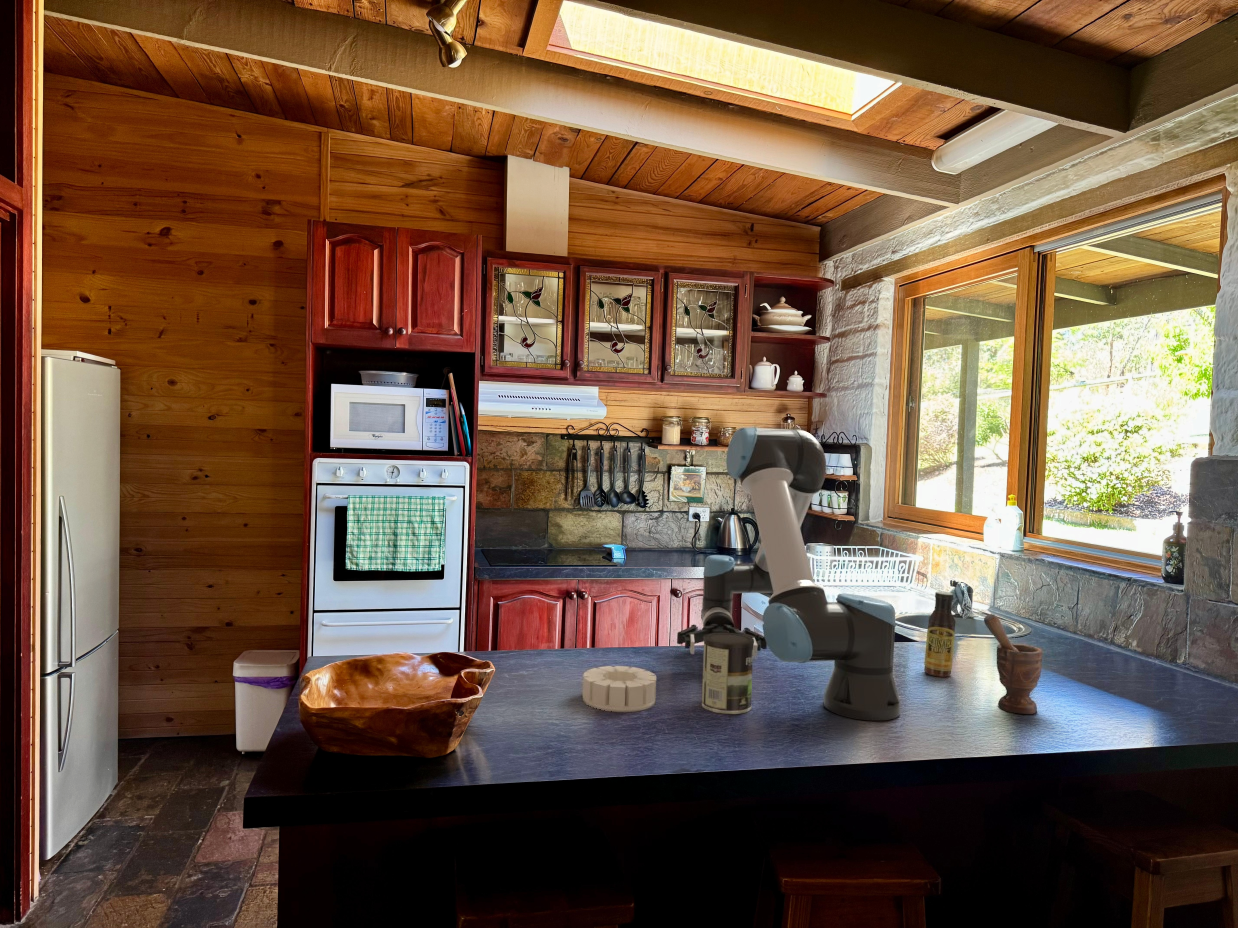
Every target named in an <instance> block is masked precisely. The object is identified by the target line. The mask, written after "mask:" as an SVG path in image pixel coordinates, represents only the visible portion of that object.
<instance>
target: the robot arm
mask: <svg viewBox="0 0 1238 928" xmlns="http://www.w3.org/2000/svg"><path fill="white" fill-rule="evenodd" d="M725 460H726V461H725V463H726V471H727V475H728V476H730V478H733V479H734V480H738V479H739V482H740V485H741V486H740V487H741V489H742V490H743V492H744V493H746V494H747V495H750V498H751V502H752V506H753V511H754V516H755V520H756V523H757V524H756V525H757V529H758V532H759V537H760V540H761V543H760V546H759V548H758V551H757V553H756V556H755V558H754V561H753V562H752V563H737V562H736V563H735V559H734V558H733V557H732V556H729V555H724V554H723V555H722V554H721V555H720V554H714V555H713V554H712V555H711V554H710V555H708V556H706V558H705V560H704V564H703V565H704V567H703V574H702V575H703V585H702V587H703V590H702V591H703V592H702V593H703V595H702V607H701V608H702V609H701V611H700V619H701V620H702V628H699V626H697V625H696V624H691V625H690V626H689V627H687V628H685V629H683V630H680V631H678V632H677V635H676V637H677V639H676V643H677V645H683V644H684V649H689V651H690V655H695V645H696V644H699V643H704V641H703V637H704V636H705V635H707V634H711V633H735V634H741V635H746V636H749V637H751V638H753V639H754V644H753V659H755V658H756V659H757V658H758V652H761V651H762V650H767V648H769V650H770V652H771V653H772V654H773V655H774V657H776V658H777V659H779V660H780V661H782V662H784V663H798V664H806V663H809V662H810V663H811V662H814V663H815V662H828V661H829V662H832V661H833V662H834V664H833V670H832V673H831V676H830V678H829V680H828V683H827V686H826V687H825V691H824V694H823V706H824V707H825V708H826V709H827V710H828V711H830V712H832V713H834V714H837V715H839V716H842V717H845V718H850V719H856V720H862V721H873V722H874V721H876V722H877V721H878V722H879V721H889V720H893V719H896V718H898V717H899V716H900V715H901V700H900V696H899V693H898V690H897V686H896V682H895V678H894V654H895V653H894V652H895V635H896V634H895V633H896V627H897V623H896V610H895V608H894V606H893V605H892V604H891V603H889V602H888V601H885V600H882V599H878V598H874V597H870V596H865V595H860V594H855V593H852V594H851V593H845V592H844V593H843V592H841V593H839V594H837V597H836V598H835V601H836V602H830V601H829V602H828V600H827V595H826V592H825V589H824V587H821V586H820V585H818V584H816V583H815V581H814V576H813V573H812V568H811V566H810V565H811V564H810V562H809V557H808V553H807V550H806V545H805V542H804V539H803V535H802V531H801V527H802V524H803V522H804V520H805V517H806V515H807V512H808V510H809V507H810V504H811V502H812V500H813V497H814V495H816V494H818V493H819V492H820V491H821V489H822V486H823V484H824V481H825V479H826V472H827V460H826V455H825V452H824V449H823V447H822V445H821V443H820V442H819V441H818V440H817V438H816V437H814V435H812V433H809V432H807V431H806V430H803V429H798V428H769V427H767V428H766V427H764V428H763V427H757V426H752V427H740V428H738V429H736V431H735V432H734V433H733V434H732V436H731V438H730V440H729V444H728V447H727V451H726V459H725ZM746 593H747V594H754V593H756V594H757V593H758V594H765V593H766V594H772V595H771V596H770V597H769V599H768V601H767V602H768V603H767V604H768V606H766V608H764V611H763V614H762V621H763V624H762V632H763V635H762V634H760V633H758V632H755V631H754V630H751V629H750V628H749V627H744V628H743V629H742V630H739V628H736V626H735V622H734V620H733V619H734V618H733V616H732V614H733V596H734V594H746ZM761 649H762V650H761Z"/></svg>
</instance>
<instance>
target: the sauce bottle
mask: <svg viewBox="0 0 1238 928" xmlns="http://www.w3.org/2000/svg"><path fill="white" fill-rule="evenodd" d="M934 593H935V594H934V597H935V598H934V599H935V601H934V603H935V604H934V610H933V611H932V613H931V614H930V616H929V617H928V624H927V629H926V631H927V632H926V640H925V642H926V643H925V649H924V650H925V651H924V652H925V653H924V664H923V666H924V668H923V671H924V672H925V673H926V675H930V676H932V677H941V678H948V677H950V676H951V674H952V670H953V669H952V668H953V661H954V660H953V659H954V658H953V657H954V648H955V637H956V633H955V632H956V619H955V618H954V617H955V616H954V615H953V613H952V606H953V604H952V603H953V600H954V593H953V592H952V593H951V592H947V591H936V592H934Z"/></svg>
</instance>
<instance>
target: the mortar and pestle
mask: <svg viewBox="0 0 1238 928" xmlns="http://www.w3.org/2000/svg"><path fill="white" fill-rule="evenodd" d="M983 622H984V624H985V626H986V628H987V629H988V630H989V633H991V634H992V635H993V637H994V638H995V639H996V641H997V642H998V643H999V644H998V645H997V646H996V669H997V673H998V675H999V682H1000V684H1001V685H1002V686H1003V687H1004V688H1005V692H1006V693H1005V694H1004V695H1003V696H1001V697H999V700H998V702H997V705H998V708H1000V709H1001V710H1003V711H1005V712H1009V713H1013V714H1020V715H1033V714H1036V713H1038V707H1037V706H1038V705H1037V703H1036V702H1035V701H1034V700H1033V699H1032V698H1031V696H1030V694H1031V692H1033V690H1034V689H1036V687H1037V686H1038V681H1039V680H1040V678H1041V675H1042V674H1041V673H1042V662H1043V649H1042V648H1039V647H1036V646H1033V645H1030V644H1023V643H1012V642H1011V640H1010V639H1009V636H1007V632H1006V630H1005V628H1004V626H1003V624H1002V622H1001V621H1000V619H999V617H997V615H995V614H992V613H991V614H987V615H986V616H985V617H983Z"/></svg>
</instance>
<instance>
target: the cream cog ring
mask: <svg viewBox="0 0 1238 928" xmlns="http://www.w3.org/2000/svg"><path fill="white" fill-rule="evenodd" d="M581 693H582V702H583V701H584V702H585V703H586V705H587V706H588V705H589V707H590V706H591V708H593V707H594V709H596V708H597V709H596V710H599V709H601V710H600V711H604V710H605V712H611V711H612V713H631V712H632V713H633V712H634V713H635V712H640V711H644V710H648V709H650V708H652V707H653V706H654V705H656V697H657V696H656V695H657V675H656V674H655V673H653V672H651V671H650V670H646V669H644V668H639V667H635V666H632V667H630V666H625V665H624V666H623V665H614V667H613V666H612V665H607V666H598V667H597V668H596V667H594V668H591V669H588V670H586V671H584V673H583V676H582V692H581ZM584 702H583V703H584ZM585 703H584V704H585Z"/></svg>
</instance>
